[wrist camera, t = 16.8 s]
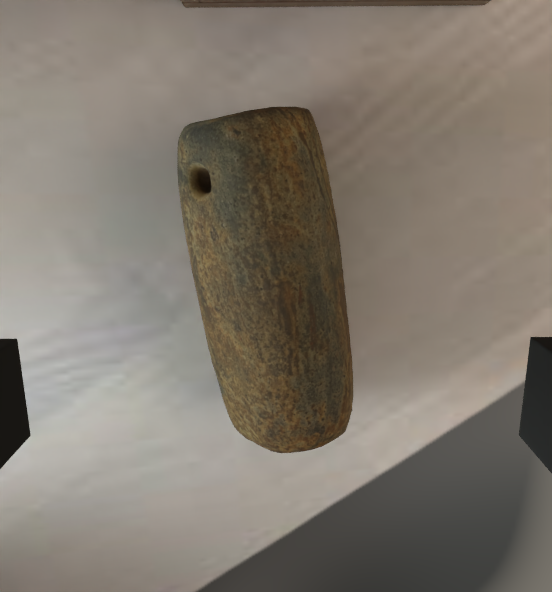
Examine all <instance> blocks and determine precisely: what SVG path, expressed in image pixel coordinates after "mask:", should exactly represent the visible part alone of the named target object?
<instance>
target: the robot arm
mask: <svg viewBox="0 0 552 592" xmlns="http://www.w3.org/2000/svg"><path fill="white" fill-rule="evenodd" d="M519 436H520V437H521V438H522V439H523V440H524V442H525V443H526V444H527V445H528V446H529V447H530V449H531V450H532V451H533V452H534V453H535V454H536V456H537V457H538V458H539V459H540V460H541V461H542V463H543V464H544V465H545V466H546V467H547V468H548V470H549V471H550V472H551V473H552V337H531V339H530V347H529V355H528V364H527V372H526V380H525V389H524V397H523V405H522V414H521V422H520V430H519ZM29 437H30V429H29V421H28V414H27V407H26V400H25V392H24V385H23V378H22V371H21V364H20V356H19V349H18V342H17V339H0V468H1V467H2V466H3V465H4V464H5V463H6V462H7V461H8V460H9V459H10V457H11V456H12V455H13V454H14V453H15V452H16V451H17V450H18V449H19V448H20V446H21V445H22V444H23V443H24V442H25V441H26V440H27V439H28V438H29Z"/></svg>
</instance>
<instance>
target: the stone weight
mask: <svg viewBox="0 0 552 592" xmlns="http://www.w3.org/2000/svg"><path fill="white" fill-rule="evenodd" d="M178 183H179V192H180V200H181V208H182V215H183V222H184V228H185V234H186V240H187V245H188V250H189V255H190V261H191V266H192V273H193V277H194V282H195V287H196V291H197V296H198V301H199V305H200V310H201V314H202V320H203V324H204V329H205V333H206V338H207V342H208V347H209V351H210V355H211V359H212V363H213V366H214V369H215V372H216V376H217V379H218V382H219V385H220V389H221V393H222V397H223V400H224V403H225V406H226V409H227V412H228V414H229V417H230V419H231V421H232V423H233V425H234V427H235V428H236V429H237V431H239V433H241V434H242V435H243V436H244V437H245V438H247V439H248V440H251V441H253V442H255V443H256V444H258V445H260V446H262V447H264V448H266V449H268V450H270V451H273V452H278V453H292V452H301V451H307V450H312V449H315V448H318V447H321V446H324V445H325V444H327V443H329V442H331V441H333V440H334V439H336V438H338V437H339V436H340V435H342V434H343V433H344V432H345V430H346V428H347V425H348V422H349V419H350V415H351V412H352V402H353V371H352V356H351V347H350V334H349V324H348V316H347V306H346V298H345V286H344V279H343V269H342V258H341V250H340V242H339V235H338V229H337V221H336V215H335V210H334V205H333V199H332V192H331V187H330V182H329V175H328V171H327V167H326V161H325V158H324V153H323V149H322V144H321V140H320V137H319V133H318V130H317V127H316V125H315V122H314V119H313V116H312V114H311V113H310V111H309V110H308V109H305V108H299V107H269V108H263V109H257V110H249V111H244V112H241V113H236V114H232V115H227V116H223V117H219V118H216V119H211V120H206V121H200V122H195V123H192V124H189V125H187V126H186V127H185V128H184V129H183V131H182V132H181V135H180V137H179V141H178Z"/></svg>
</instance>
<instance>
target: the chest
mask: <svg viewBox="0 0 552 592" xmlns="http://www.w3.org/2000/svg"><path fill="white" fill-rule="evenodd" d="M181 1H182V3H183V5H184V6H185V7H186V8H189V7H305V6H420V5H485V4H487V3H488V2H489V1H491V0H181Z"/></svg>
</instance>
